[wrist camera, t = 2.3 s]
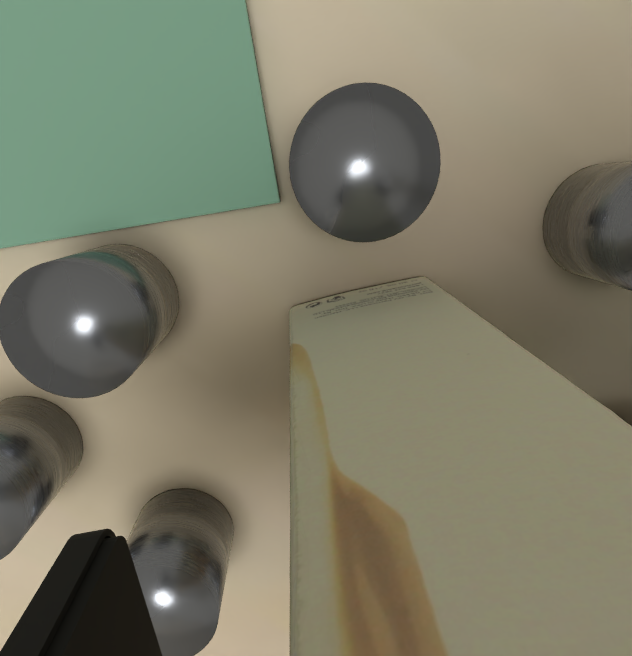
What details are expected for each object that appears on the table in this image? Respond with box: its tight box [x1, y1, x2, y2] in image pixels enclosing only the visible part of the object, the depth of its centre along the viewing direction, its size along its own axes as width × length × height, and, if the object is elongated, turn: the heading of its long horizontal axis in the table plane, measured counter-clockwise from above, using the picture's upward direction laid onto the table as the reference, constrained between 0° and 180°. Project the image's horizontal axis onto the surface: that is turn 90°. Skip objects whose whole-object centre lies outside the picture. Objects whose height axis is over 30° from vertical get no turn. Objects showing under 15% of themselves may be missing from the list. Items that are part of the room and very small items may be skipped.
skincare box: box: [289, 277, 632, 656], centre depth 10 cm, size 6×4×12 cm
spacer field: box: [0, 83, 632, 656], centre depth 14 cm, size 25×16×4 cm, turn 99°
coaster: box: [0, 0, 280, 248], centre depth 12 cm, size 10×10×1 cm
